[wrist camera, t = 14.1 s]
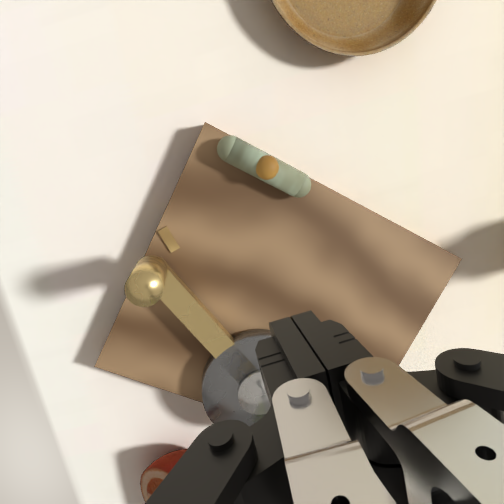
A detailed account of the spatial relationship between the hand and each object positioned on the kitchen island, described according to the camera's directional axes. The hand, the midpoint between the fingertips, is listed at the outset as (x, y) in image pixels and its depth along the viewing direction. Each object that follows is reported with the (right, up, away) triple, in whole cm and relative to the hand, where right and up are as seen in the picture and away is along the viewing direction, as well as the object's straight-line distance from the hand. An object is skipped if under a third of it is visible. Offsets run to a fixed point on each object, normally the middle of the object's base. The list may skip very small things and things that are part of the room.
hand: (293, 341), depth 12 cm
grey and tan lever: (-4, -5, +19) cm, 20 cm away
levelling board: (+1, -2, +22) cm, 22 cm away
